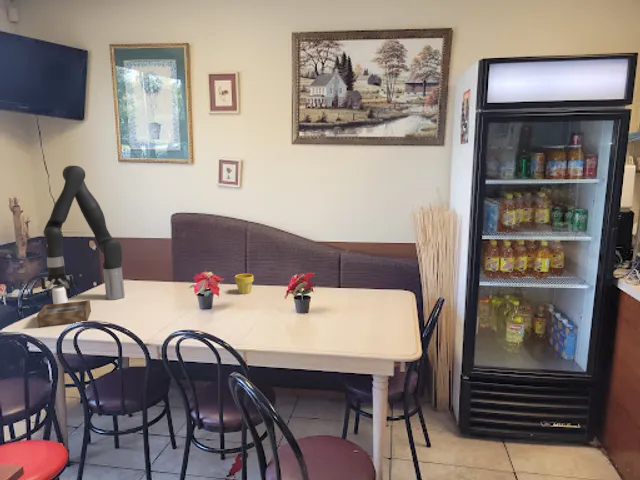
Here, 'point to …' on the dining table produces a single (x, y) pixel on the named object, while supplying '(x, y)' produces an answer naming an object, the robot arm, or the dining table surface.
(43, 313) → the box
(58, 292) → the can
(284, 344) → the dining table surface
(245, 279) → the plant pot
